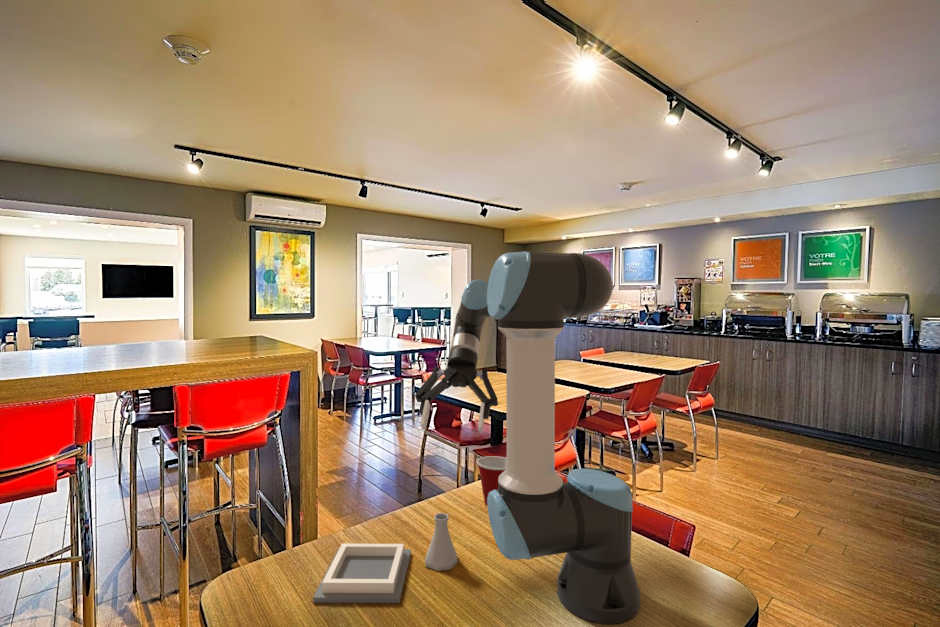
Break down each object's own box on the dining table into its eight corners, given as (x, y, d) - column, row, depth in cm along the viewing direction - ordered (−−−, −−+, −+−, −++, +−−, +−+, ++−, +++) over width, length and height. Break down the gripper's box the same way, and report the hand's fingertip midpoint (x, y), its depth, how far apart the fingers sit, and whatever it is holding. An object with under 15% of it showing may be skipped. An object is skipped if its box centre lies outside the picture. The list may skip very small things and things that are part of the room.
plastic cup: (523, 501, 128) (523, 458, 127) (504, 517, 119) (504, 471, 118) (488, 491, 134) (489, 450, 133) (468, 507, 125) (468, 462, 124)
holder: (410, 553, 103) (410, 540, 103) (399, 603, 87) (399, 587, 87) (337, 553, 103) (337, 540, 103) (313, 602, 87) (312, 587, 87)
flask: (453, 574, 96) (454, 526, 95) (420, 569, 97) (419, 522, 97) (461, 554, 103) (461, 509, 102) (429, 550, 104) (429, 506, 104)
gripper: (512, 364, 123) (506, 439, 109) (420, 361, 127) (403, 433, 113) (510, 347, 117) (503, 423, 104) (414, 344, 122) (395, 417, 108)
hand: (451, 428), depth 108 cm, fingers open, 13 cm apart
